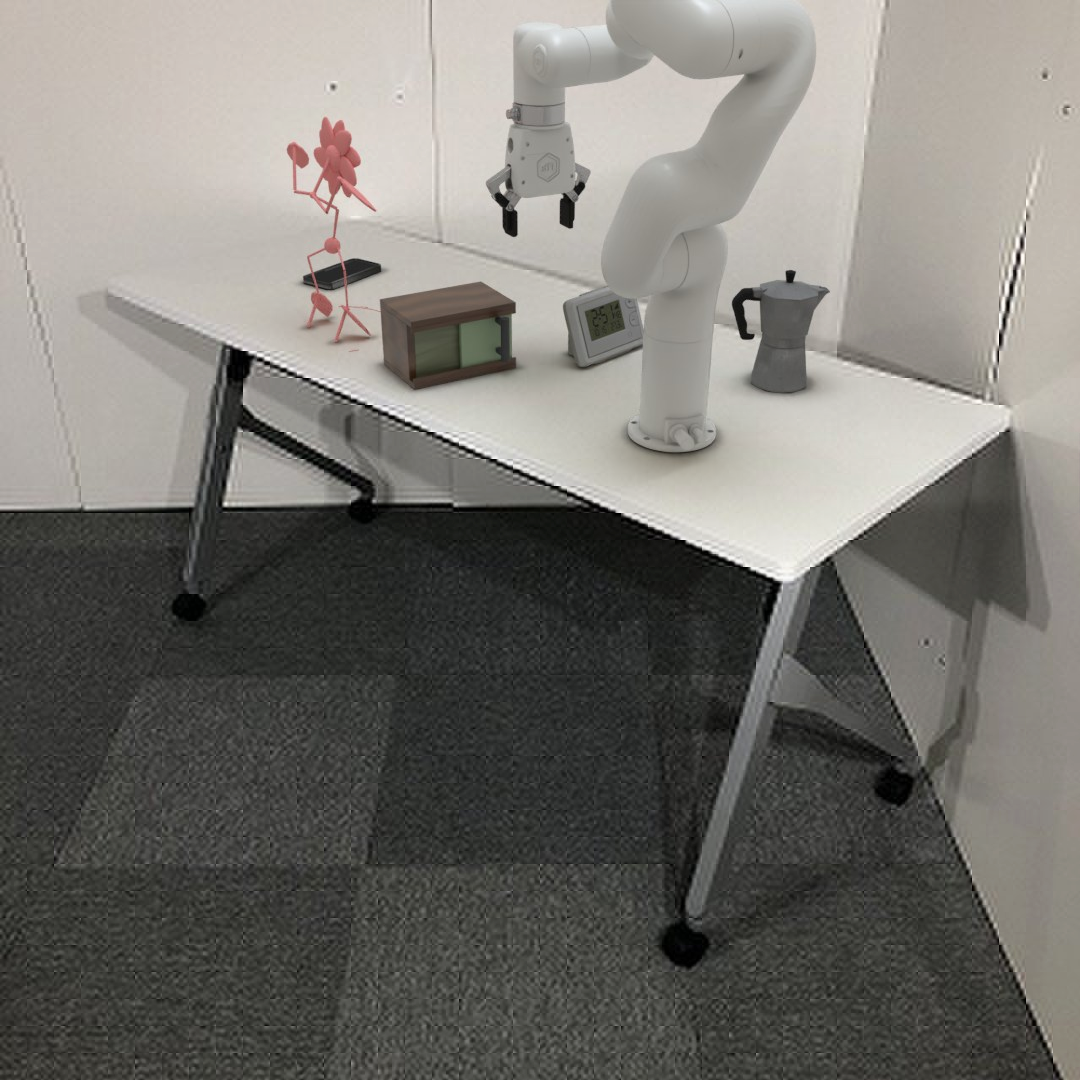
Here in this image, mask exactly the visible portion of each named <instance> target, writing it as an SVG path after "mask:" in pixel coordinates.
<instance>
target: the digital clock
mask: <svg viewBox="0 0 1080 1080" xmlns="http://www.w3.org/2000/svg"><path fill="white" fill-rule="evenodd" d="M562 311H563V315H564V320H565V324H566V329H567V335H568V336H567V354H568V355H569V356H572V357H573V358H574V362H575V364H576V365H577V366H578V367H580V368H585V367H588V366H590V365H591V366H592V365H598V364H600V363H603V362H605V361H608V360H610V359H613V358H616V357H618V356H621V355H624V354H626V353H628V352H631V351H632V349H634V348H637V347H639V346H643V334H644V323H643V320H642V316H641V311H640V307H639V302H638V298H632V299H631V298H624V297H621V296H619V295H617V294H615V293H614V292H613V291H611V289H610V288H609V287H608V286H607V285H604V286H602V287H598V288H596V289H592V290H590V291H587V292H584V293H580V294H579V295H578V296H576V297H572V298H569V299H567V300H565V301H564V302H563V304H562Z"/></svg>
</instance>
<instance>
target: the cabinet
mask: <svg viewBox="0 0 1080 1080" xmlns="http://www.w3.org/2000/svg"><path fill="white" fill-rule="evenodd" d="M379 308H380V309H379V311H381V312H380V324H381V335H382V336H381V339H382V354H383V355H382V356H383V365H384V366H385V367H386V368H387V369H389V370H390V371H391V372H392V373H394V374H395V375H396V376H397V377H399V378H400V379H401V380H403V382H404V383H406V384H407V385H409V387H411V388H412V389H413V390H419V389H424V388H428V387H433V386H438V385H443V384H447V383H451V382H455V381H456V382H457V381H462V380H467V379H470V378H476V377H480V376H484V375H489V374H493V373H498V372H502V371H503V372H504V371H508V370H512V369H516V368H517V356H512V358H510V361H509V362H502V361H501V360H498V361H494V362H489V363H484V364H479V365H475V366H470V367H465V368H460V346H459V324H462V323H468V322H473V321H478V320H483V319H488V318H494V317H499V316H504V315H509V314H512V315H514V314H516V313H517V302H516V301H514V300H512V299H511V298H509V297H508V296H506V295H504V294H503V293H501V292H499V291H497V290H496V289H495V288H493V287H491V286H490V285H488V284H486V283H484V282H483V281H476V282H470V283H469V282H468V283H464V284H457V285H453V286H447V287H441V288H436V289H429V290H423V291H419V292H418V291H417V292H412V293H408V294H402V295H396V296H391V297H390V296H389V297H385V298H379Z"/></svg>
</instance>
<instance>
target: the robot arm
mask: <svg viewBox="0 0 1080 1080" xmlns="http://www.w3.org/2000/svg"><path fill="white" fill-rule="evenodd" d="M816 39H817V38H816V32H815V29H814V24H813V21H812V19H811V17H810V14H809V12H808V11H807V10H806V8H805V7H804V6H803V5H802V4H801V3H800V2H799V1H797V0H608V2H607V6H606V10H605V24H597V25H595V24H594V25H584V26H583V25H582V26H574V27H570V28H569V27H567V28H564V27H563V26H561V24H558V23H555V22H548V21H547V22H545V21H533V22H524V23H521V24H519V25H517V26H516V27H515V29H514V31H513V36H512V53H513V54H512V55H513V56H512V57H513V61H512V63H513V64H512V66H513V67H512V68H513V75H512V77H513V102H512V107H511V108H509V109H506V111H505V117H506V118H507V120H512V122H513V123H511V124H510V125H509V129H508V134H507V140H506V147H505V156H504V157H505V158H504V168H502V169H501V170H500V171H498V172H497V173H495V174H494V175H493V176H491V177H489V178H488V179H487V180H486V181H485V186H486V188H487V190H488V192H489V194H490V196H491V199H493V200H494V201H495V202H496V203H497V204H498V206H499V207H501V212H502V213H501V214H502V218H501V219H502V221H501V222H502V223H501V224H502V229H503V231H504V233H505V234H506V235H508V236H510V237H511V238H516V237H517V236H518V235H519V233H518V232H519V231H518V227H519V226H518V225H519V224H518V222H519V221H518V220H519V219H518V217H519V216H518V214H519V213H518V210H516V209H515V208H516V206H517V205H518V203H519V202H520V200H521V199H532V198H539V197H546V196H547V197H548V196H553V195H562V197H561V198H560V200H559V225H561V226H563V227H564V228H567V229H568V230H571V229H573V228H574V221H575V219H576V218H575V217H576V203H577V202H578V201H579V199H580V195H581V194H582V193H583V191H584V190H585V189H586V183H588V180H589V178H590V176H591V173H592V172H591V169H590V168H587V167H585V166H583V165H581V164H580V163H577V162H576V157H575V145H574V138H573V133H572V128H571V127H572V126H571V123H569V122H568V121H566V88H570V87H578V86H584V85H585V86H586V85H592V84H601V83H609V82H613V81H616V80H617V81H618V80H619V79H622V78H624V77H626V76H629V75H630V74H633V73H635V72H636V71H638V70H641V69H642V68H644V67H646V66H647V65H648V64H649V63H651V61H652V60H653V58H654V56H655V57H656V58H658V59H659V60H660V61H661V62H662V63H663V64H665V65H666V66H667V67H669V68H670V69H671V70H673V71H674V72H675V73H677V74H679V75H681V76H683V77H685V78H688V79H692V80H712V79H719V78H720V79H721V78H727V77H735V76H741V75H743V76H742V77H741V79H740V80H739V81H738V83H737V84H735V85H734V86H733V88H732V89H730V90H729V91H728V93H726V95H725V96H724V97H723V98H722V99H721V100H720V102H719V103H718V104H717V105H716V107H715V109H714V110H713V112H712V114H711V115H710V118H709V121H708V123H707V125H706V127H705V129H704V131H703V133H702V135H701V137H700V138H699V140H697V142H696V143H695V144H694V145H693V146H691V147H689V148H687V149H684V150H679V151H672V152H666V153H663V154H659V155H656V156H653V157H651V158H649V159H647V160H645V161H644V162H643V163H642V164H641V165H640V166H639V167H638V168H637V169H636V170H635V171H634V173H633V174H632V175H631V177H630V179H629V180H628V183H627V186H626V187H625V190H624V192H623V194H622V197H621V199H620V202H619V204H618V207H617V208H616V211H615V214H614V216H613V218H612V221H611V222H610V226H609V228H608V229H607V233H606V235H605V237H604V240H603V244H602V248H601V255H600V269H601V273H602V274H601V275H602V278H603V280H604V282H605V284H606V286H608V287H609V288H610V289H611V291H613V292H614V293H615V294H617V295H619V296H621V297H624V298H631V299H632V298H637V299H641V298H647V297H649V299H648V302H647V305H646V309H645V313H644V318H643V329H644V334H643V344H642V352H641V353H642V354H641V355H642V356H641V373H640V376H641V377H640V378H641V379H640V395H639V396H640V397H639V413H638V414H637V415H635V416H633V417H632V418H630V419H629V421H628V423H627V424H628V425H627V435H628V436H629V438H630V439H631V440H632V441H633V442H635V444H637V445H638V446H641V447H644V448H646V449H650V450H653V451H658V452H665V453H688V452H693V451H697V450H702V449H704V448H706V447H708V446H710V445H711V444H712V443H713V442H714V441H715V439H716V437H717V427H716V425H715V424H714V422H713V421H711V420H710V419H709V418H707V413H708V401H709V388H710V377H711V366H712V353H713V342H714V341H713V340H714V332H715V331H714V330H715V321H716V319H715V318H716V309H717V302H718V296H719V291H720V287H721V283H722V280H723V276H724V273H725V270H726V267H727V260H728V256H729V255H728V254H729V241H728V237H727V233H726V231H725V228H724V226H723V225H722V223H725V222H728V221H730V220H732V219H734V218H735V217H736V216H737V215H739V213H740V212H741V211H742V210H743V208H744V206H745V204H746V203H747V201H748V200H749V197H750V196H751V193H752V191H753V190H754V188H755V186H756V184H757V182H758V181H759V179H760V176H761V174H762V172H763V171H764V169H765V168H766V165H767V163H768V161H769V160H770V157H772V154H773V151H774V149H775V147H776V145H777V144H778V142H779V140H780V138H781V137H782V135H783V133H784V132H785V130H786V128H787V127H788V125H789V124H790V122H791V121H792V119H793V117H794V116H795V115H796V112H797V111H798V109H799V108H800V106H801V104H802V102H803V100H804V99H805V96H806V95H807V92H808V90H809V89H810V85H811V82H812V79H813V77H814V73H815V67H816V60H817V59H816V58H817V40H816ZM576 175H577V176H576ZM503 183H504V187H505V189H506V190H505V192H504V193H502V192H501V189H500V186H501V185H502V184H503Z"/></svg>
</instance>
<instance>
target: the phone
mask: <svg viewBox="0 0 1080 1080" xmlns="http://www.w3.org/2000/svg"><path fill="white" fill-rule="evenodd" d="M343 263H344V267H345V271H346V280H347V285H349V284H350V283H353V282H356V281H358V280H361V279H364V278H366V277H370V276H372V275H375V274H377V273H380V272H382V264H381V263H378V262H374V261H369V260H367V259H363V258H357V257H353V258H349V259H346V260H343ZM313 273H314V276H315V280H316V283H317V286H318V288H321V289H324V290H334V289H335V290H336V289H338V288H340V287H344V286H345V283H344V270H343V267H342V263H341V262H338V263H335V264H332V265H330V266H327V267H324V268H321V269H318V270H315V271H313ZM302 281H303V284H306V285H310V286H312V287H313V286H314V287H315V283H314V280H313V277H312V273H311V272H310V273H307V274H304V275H303V276H302Z"/></svg>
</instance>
